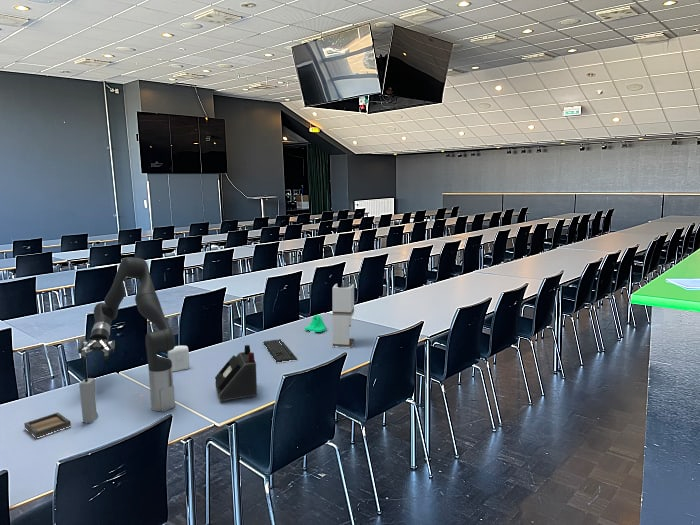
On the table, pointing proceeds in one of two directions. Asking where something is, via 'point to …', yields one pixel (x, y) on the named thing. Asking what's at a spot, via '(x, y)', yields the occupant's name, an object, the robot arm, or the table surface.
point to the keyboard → (279, 350)
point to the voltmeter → (237, 377)
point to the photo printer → (179, 358)
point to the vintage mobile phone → (88, 398)
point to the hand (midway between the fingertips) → (94, 358)
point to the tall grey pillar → (342, 315)
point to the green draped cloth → (316, 324)
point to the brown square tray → (47, 424)
